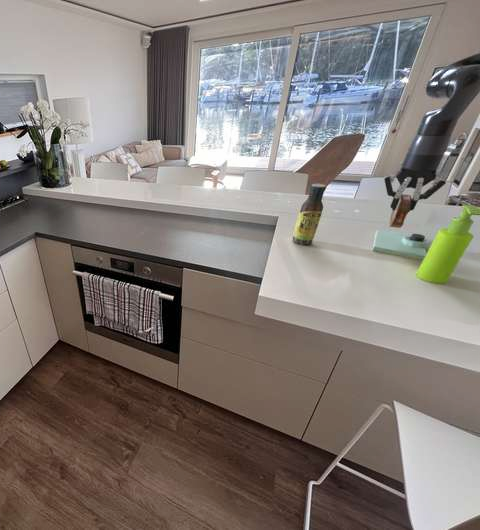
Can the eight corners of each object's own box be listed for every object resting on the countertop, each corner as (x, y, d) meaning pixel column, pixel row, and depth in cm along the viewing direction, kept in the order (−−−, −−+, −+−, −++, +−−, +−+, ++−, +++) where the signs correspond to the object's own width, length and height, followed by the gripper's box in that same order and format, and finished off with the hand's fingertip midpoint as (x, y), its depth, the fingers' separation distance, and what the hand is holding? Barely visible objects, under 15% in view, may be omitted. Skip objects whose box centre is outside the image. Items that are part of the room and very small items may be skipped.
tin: (390, 215, 97) (398, 190, 93) (403, 216, 95) (411, 190, 91) (388, 230, 87) (397, 204, 83) (402, 232, 85) (412, 204, 81)
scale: (424, 240, 94) (428, 232, 93) (426, 260, 84) (431, 251, 82) (375, 232, 101) (379, 224, 100) (372, 250, 91) (376, 242, 90)
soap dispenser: (419, 282, 76) (458, 210, 65) (413, 269, 80) (449, 201, 70) (450, 287, 73) (496, 213, 63) (443, 274, 78) (484, 203, 68)
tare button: (422, 239, 89) (425, 235, 89) (423, 243, 88) (425, 238, 87) (409, 237, 91) (411, 233, 90) (409, 241, 89) (412, 236, 89)
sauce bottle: (293, 245, 98) (308, 187, 88) (289, 237, 103) (303, 182, 93) (315, 246, 96) (332, 187, 86) (310, 238, 101) (326, 182, 91)
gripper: (460, 150, 78) (431, 210, 87) (393, 148, 87) (372, 203, 95) (464, 155, 74) (432, 218, 82) (392, 153, 82) (370, 210, 91)
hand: (400, 210), depth 89 cm, fingers closed on tin, 2 cm apart
